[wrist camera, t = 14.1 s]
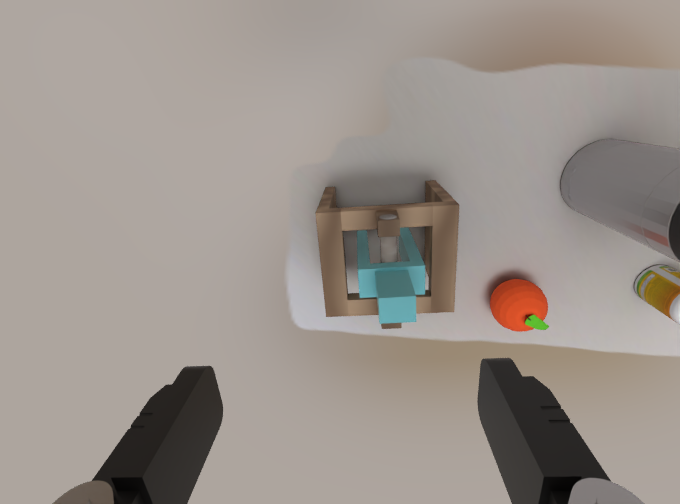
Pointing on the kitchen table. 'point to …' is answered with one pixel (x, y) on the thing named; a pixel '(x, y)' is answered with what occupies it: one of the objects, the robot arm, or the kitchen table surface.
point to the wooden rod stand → (390, 248)
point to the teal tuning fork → (392, 279)
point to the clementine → (519, 305)
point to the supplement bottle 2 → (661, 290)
